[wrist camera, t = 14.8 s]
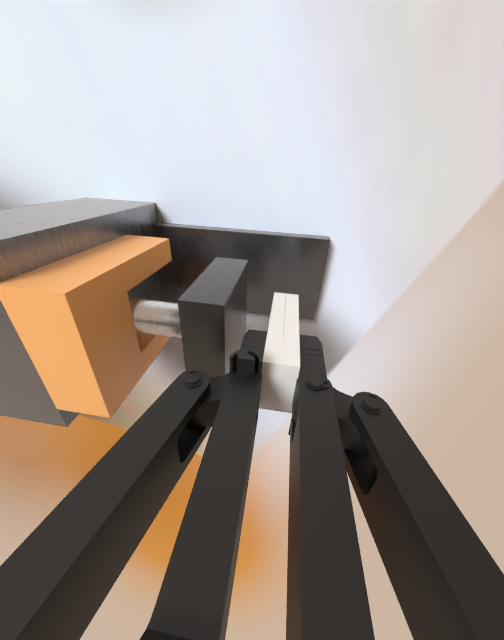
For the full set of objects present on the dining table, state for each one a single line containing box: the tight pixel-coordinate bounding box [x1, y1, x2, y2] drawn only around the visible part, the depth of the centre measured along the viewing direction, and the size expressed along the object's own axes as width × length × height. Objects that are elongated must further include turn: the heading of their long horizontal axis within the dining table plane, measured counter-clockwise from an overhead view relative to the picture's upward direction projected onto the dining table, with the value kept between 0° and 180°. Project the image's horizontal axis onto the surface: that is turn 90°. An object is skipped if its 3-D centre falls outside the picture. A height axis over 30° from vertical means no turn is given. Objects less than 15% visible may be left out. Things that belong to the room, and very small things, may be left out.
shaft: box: [128, 257, 248, 377], centre depth 15 cm, size 15×6×6 cm, turn 87°
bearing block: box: [0, 198, 330, 427], centre depth 17 cm, size 20×10×14 cm, turn 87°
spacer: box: [0, 235, 172, 418], centre depth 15 cm, size 3×7×9 cm, turn 177°
